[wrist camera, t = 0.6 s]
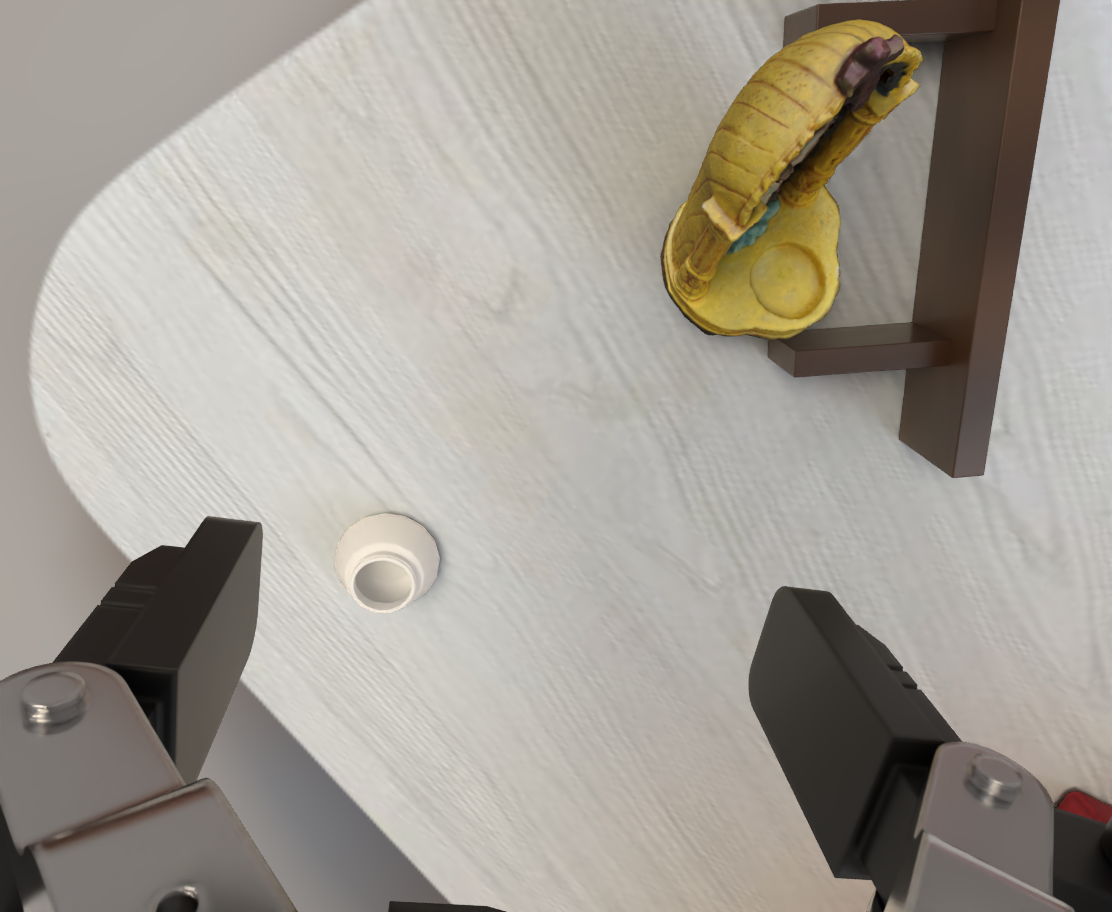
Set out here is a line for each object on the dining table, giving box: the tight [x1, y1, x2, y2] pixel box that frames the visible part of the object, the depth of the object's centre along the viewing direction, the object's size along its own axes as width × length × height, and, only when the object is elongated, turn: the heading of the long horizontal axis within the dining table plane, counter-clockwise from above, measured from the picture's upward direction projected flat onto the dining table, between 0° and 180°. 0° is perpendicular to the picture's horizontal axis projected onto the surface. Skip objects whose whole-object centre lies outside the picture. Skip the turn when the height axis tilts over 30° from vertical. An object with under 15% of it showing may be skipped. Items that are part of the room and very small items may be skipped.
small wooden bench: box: [768, 0, 1060, 478], centre depth 34 cm, size 24×8×5 cm, turn 3°
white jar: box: [334, 513, 440, 613], centre depth 39 cm, size 5×3×5 cm
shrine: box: [660, 19, 923, 340], centre depth 29 cm, size 12×8×15 cm
